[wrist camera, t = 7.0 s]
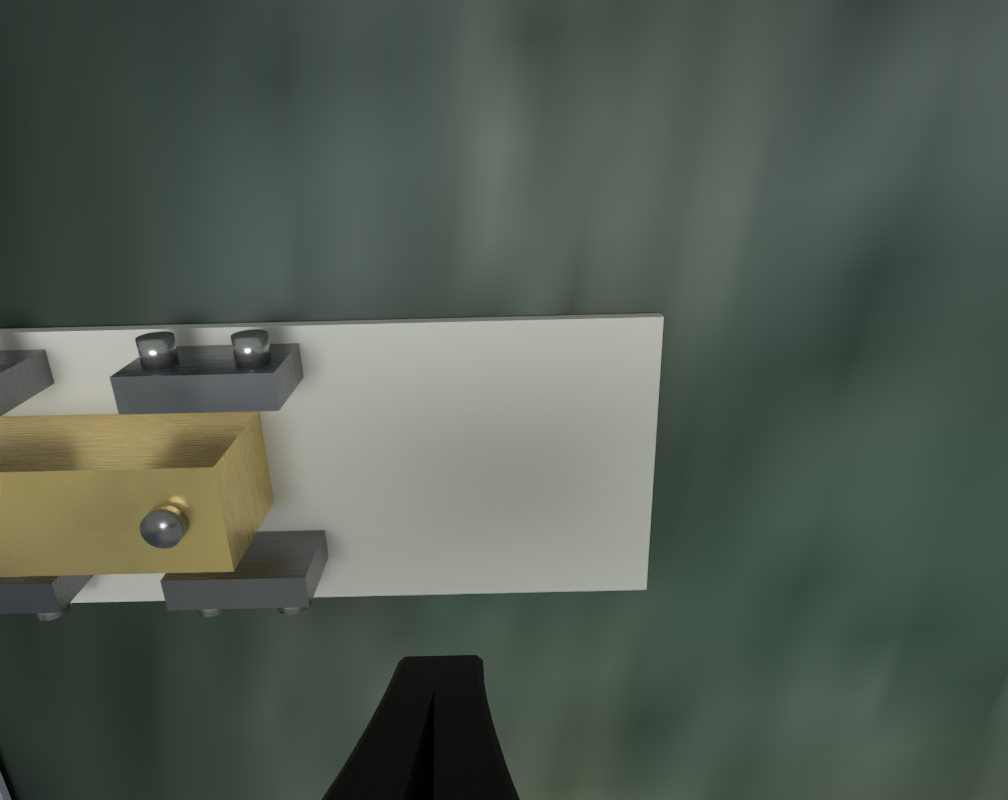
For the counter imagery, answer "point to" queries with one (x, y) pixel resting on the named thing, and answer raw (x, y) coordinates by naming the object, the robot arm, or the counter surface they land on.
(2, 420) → the link
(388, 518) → the mat
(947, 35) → the counter surface
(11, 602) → the chain end
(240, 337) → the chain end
